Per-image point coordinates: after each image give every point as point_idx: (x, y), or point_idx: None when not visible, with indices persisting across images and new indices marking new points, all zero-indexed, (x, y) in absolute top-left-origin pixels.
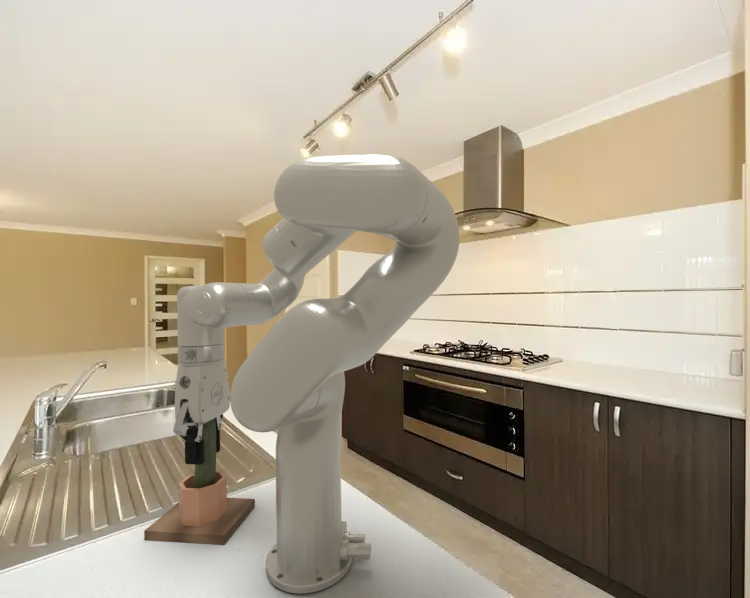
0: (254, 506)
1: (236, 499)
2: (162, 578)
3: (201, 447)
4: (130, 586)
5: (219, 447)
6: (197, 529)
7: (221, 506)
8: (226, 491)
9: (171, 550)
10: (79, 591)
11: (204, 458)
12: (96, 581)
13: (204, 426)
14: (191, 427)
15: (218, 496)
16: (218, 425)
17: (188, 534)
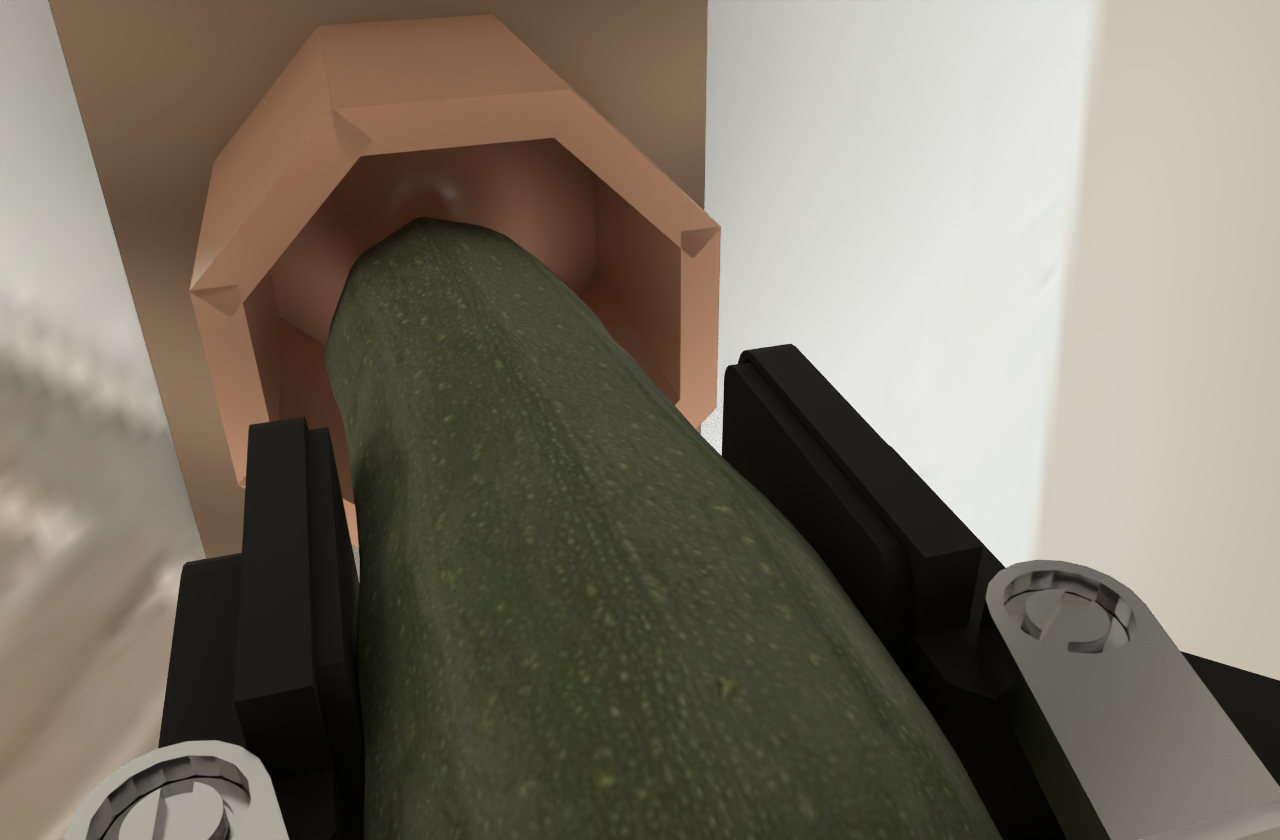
0: None
1: (94, 41)
2: (1004, 45)
3: (906, 487)
4: (1046, 186)
5: (273, 450)
6: (651, 108)
7: (433, 36)
8: (329, 65)
9: (763, 191)
10: (1050, 404)
11: (677, 409)
12: (996, 390)
13: (976, 826)
14: None
15: (516, 58)
16: (241, 826)
17: (701, 145)
